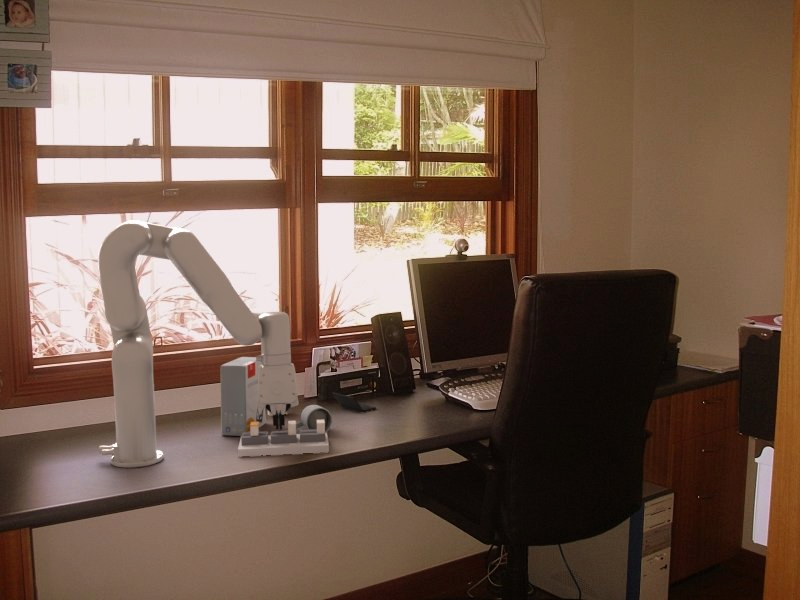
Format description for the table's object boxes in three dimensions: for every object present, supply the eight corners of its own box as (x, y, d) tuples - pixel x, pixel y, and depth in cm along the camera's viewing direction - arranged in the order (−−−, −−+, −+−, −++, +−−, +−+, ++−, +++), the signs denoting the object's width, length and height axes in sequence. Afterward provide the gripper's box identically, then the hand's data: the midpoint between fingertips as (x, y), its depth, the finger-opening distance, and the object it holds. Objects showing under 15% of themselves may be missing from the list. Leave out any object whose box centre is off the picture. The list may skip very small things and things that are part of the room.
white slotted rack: (238, 457, 206) (237, 430, 205) (241, 443, 218) (240, 419, 217) (328, 452, 209) (328, 426, 208) (327, 439, 221) (326, 415, 220)
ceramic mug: (324, 426, 235) (322, 400, 234) (333, 433, 228) (332, 406, 227) (288, 431, 231) (287, 404, 230) (296, 438, 224) (295, 411, 223)
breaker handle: (250, 435, 210) (250, 425, 210) (251, 432, 214) (250, 421, 214) (258, 435, 211) (258, 425, 210) (258, 431, 214) (258, 421, 214)
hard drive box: (246, 437, 224) (244, 366, 222) (220, 436, 226) (218, 365, 224) (266, 423, 240) (264, 356, 238) (242, 422, 241) (240, 355, 239)
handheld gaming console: (380, 403, 257) (364, 382, 252) (370, 420, 252) (353, 399, 247) (353, 403, 264) (337, 382, 259) (343, 420, 259) (326, 399, 255)
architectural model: (266, 415, 251) (265, 391, 250) (287, 412, 254) (287, 389, 253) (269, 418, 248) (268, 394, 247) (291, 415, 251) (290, 391, 250)
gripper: (246, 363, 206) (249, 434, 208) (305, 360, 208) (308, 430, 210) (247, 358, 214) (250, 426, 216) (305, 355, 216) (307, 423, 218)
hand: (279, 428), depth 213 cm, fingers closed
